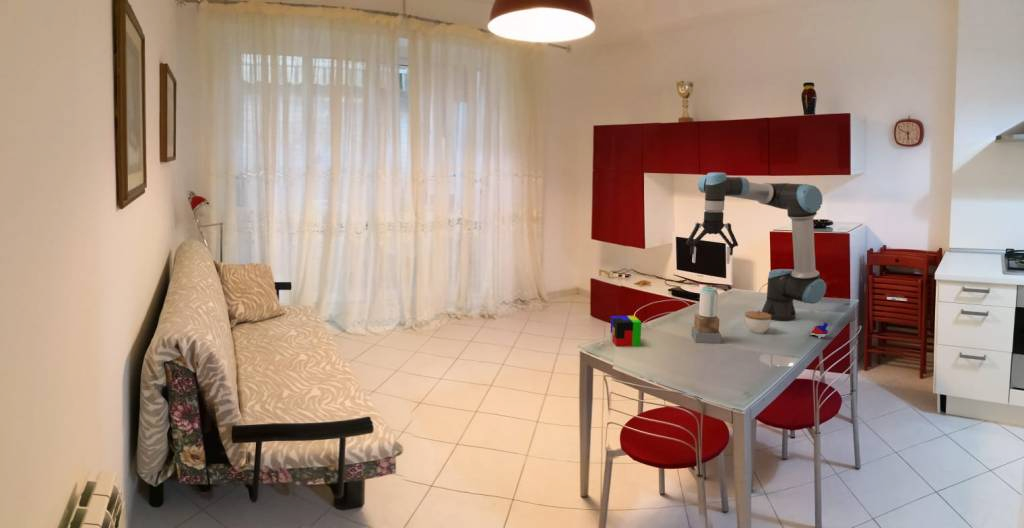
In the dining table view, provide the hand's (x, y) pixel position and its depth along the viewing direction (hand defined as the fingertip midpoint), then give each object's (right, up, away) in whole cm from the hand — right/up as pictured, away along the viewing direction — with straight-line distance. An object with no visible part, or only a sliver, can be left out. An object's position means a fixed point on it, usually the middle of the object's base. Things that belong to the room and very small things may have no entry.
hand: (710, 262), depth 256 cm
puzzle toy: (-35, -33, +1) cm, 48 cm away
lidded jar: (+26, -30, +18) cm, 44 cm away
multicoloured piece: (+49, -32, +10) cm, 60 cm away
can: (0, -22, +4) cm, 23 cm away
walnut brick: (0, -28, +5) cm, 29 cm away
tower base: (0, -32, +6) cm, 33 cm away
